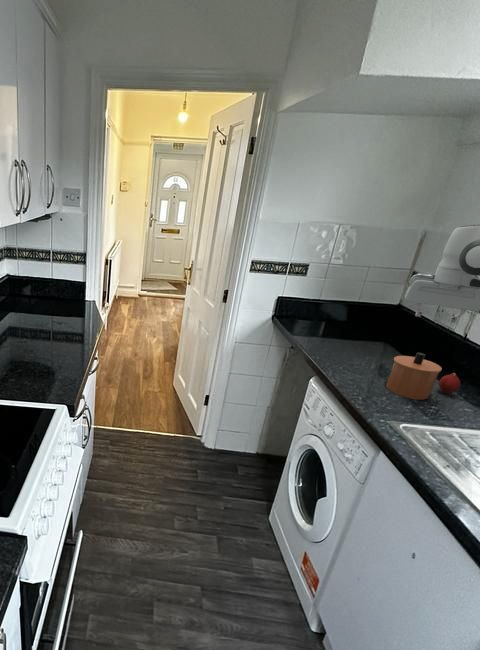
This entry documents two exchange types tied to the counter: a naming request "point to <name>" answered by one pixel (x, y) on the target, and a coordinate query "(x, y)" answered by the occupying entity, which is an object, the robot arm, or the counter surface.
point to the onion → (449, 383)
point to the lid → (417, 363)
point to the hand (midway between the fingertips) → (434, 319)
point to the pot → (410, 382)
